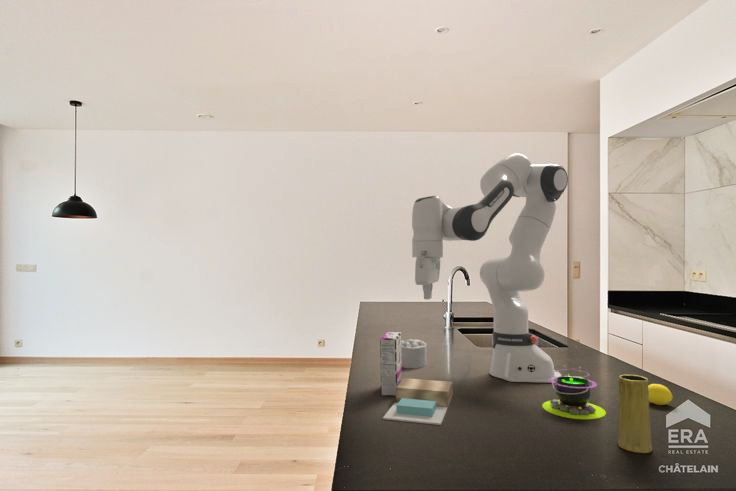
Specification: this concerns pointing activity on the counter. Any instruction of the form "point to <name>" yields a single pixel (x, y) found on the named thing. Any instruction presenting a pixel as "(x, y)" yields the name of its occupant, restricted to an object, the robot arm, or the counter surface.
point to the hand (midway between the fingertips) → (427, 299)
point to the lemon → (659, 394)
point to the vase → (634, 414)
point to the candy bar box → (390, 362)
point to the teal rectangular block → (416, 407)
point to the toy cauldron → (573, 398)
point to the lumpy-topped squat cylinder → (413, 353)
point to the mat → (416, 416)
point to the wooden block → (425, 391)
